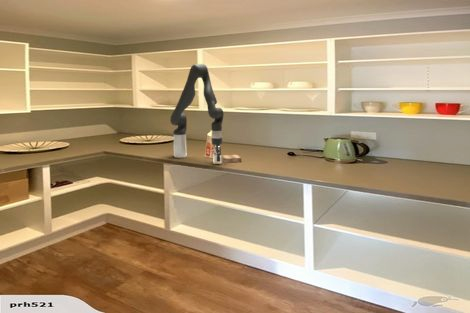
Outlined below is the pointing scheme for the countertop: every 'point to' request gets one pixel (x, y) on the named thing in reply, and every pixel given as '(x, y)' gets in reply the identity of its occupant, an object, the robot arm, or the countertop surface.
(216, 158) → the cube
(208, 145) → the milk carton
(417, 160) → the countertop surface
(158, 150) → the countertop surface
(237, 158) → the base
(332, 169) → the countertop surface
